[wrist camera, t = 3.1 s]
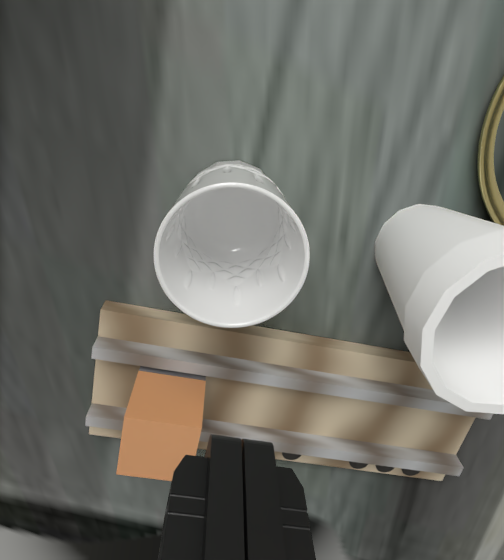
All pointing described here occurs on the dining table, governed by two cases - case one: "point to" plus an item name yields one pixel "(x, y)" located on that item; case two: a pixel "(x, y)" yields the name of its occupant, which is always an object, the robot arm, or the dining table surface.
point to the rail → (285, 392)
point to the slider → (161, 423)
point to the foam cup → (449, 300)
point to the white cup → (231, 248)
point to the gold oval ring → (491, 157)
